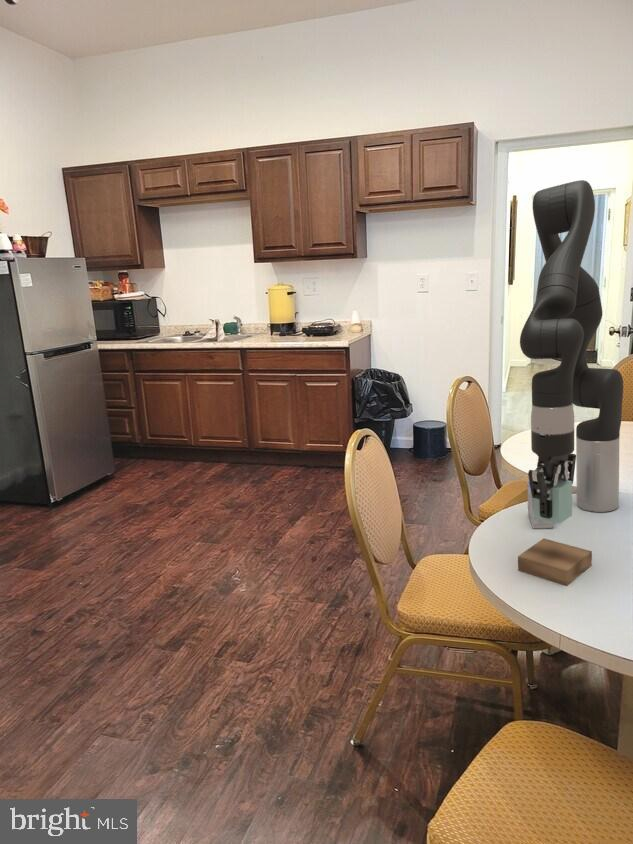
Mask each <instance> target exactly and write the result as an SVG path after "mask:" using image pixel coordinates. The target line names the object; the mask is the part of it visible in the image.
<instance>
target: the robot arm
mask: <svg viewBox="0 0 633 844" xmlns="http://www.w3.org/2000/svg"><path fill="white" fill-rule="evenodd" d="M595 211H596V201H595V195H594V190H593V187H592V186H591V184H590V182H589V181H587V180H584V179H582V180H576V181H570V182H566V183H562V184H558V185H554V186H550V187H547V188H543V189H541V190H538V191H537V192H535V193H534V195H533V199H532V215H533V220H534V225H535V228H536V232H537V235H538V236H537V237H538V239H539V242H540V247H541V249H542V253H543V256H544V260H545V263H544V265H543V267H542V268H541V271H540V274H539V276H538V281H537V289H536V295H535V296H536V297H535V302H534V304H533V307H532V310H531V311H530V313H529V315H528V317H527V319H526V321H525V323H524V325H523V327H522V329H521V333H520V337H519V347H520V350H521V352H522V354H523V355H524V356H525V357H526V358H529V359H532V360H543V359H546V360H548V359H549V360H553V359H560V360H561V362H560V364H559V365H558V366H557V367H554V368H551V369H548V370H543V371H539V372H536V373H535V374H534V375H533V376H532V378H531V413H530V435H531V437H530V439H531V447H530V448H531V451H532V453H533V454H535V455H537V457H538V458H537V463H536V468H535V469H529V470H528V472H527V473H528V474H527V475H528V482H530V488H531V494H532V498H536V499H539V501H540V516H541V517H543V518H547V519H550V518H551V517H552V500H551V499H552V495H553V488H556V487H557V481H558V480H563V481H567V480H569V481H572V485H573V484H574V479H575V473H576V482H575V483H576V506H577V507H579V508H580V509H582V510H584V511H589V512H597V513H600V512H601V513H603V512H604V513H605V512H611V511H614V510H617V509H618V508H619V503H620V436H621V435H620V431H621V426H622V425H621V424H622V418H623V417H622V413H623V412H622V411H623V400H624V378H623V376H622V374H621V372H620V371H619V370H618V369H615V368H602V367H601V368H598V367H589V366H588V363H587V362H588V361H587V349H588V348H589V345H590V343H591V341H592V339H593V337H594V336H595V333H596V332H597V331H598V328H599V326H600V324H601V322H602V319H603V306H602V301H601V294H600V288H599V286H598V283H597V282H596V281H595V279H594V278H593V276H591V275H590V274H589V273H588V271H587V270H586V269H584V268H583V267H582V263H583V262H582V261H583V259H584V254H585V251H586V248H587V246H588V242H589V238H590V234H591V232H592V231H591V230H592V228H593V223H594V220H595ZM563 233H566V236H565V237H564V239H563V240H561V238H560V234H563ZM574 406H576V407H580V408H587V409H588V408H589V409H596V410H597V409H599V411H598V417H596V418H591V419H589V420H588V419H587V420H583V421H581V422H579V423H578V424H577V425H576V426H575V411H574ZM575 427H576V429H575ZM575 434H576V435H575ZM575 445H576V446H575ZM575 450H576V452H575ZM574 452H575V453H574ZM575 469H576V472H575ZM545 480H546V481H551V483H545ZM546 487H547V488H548V492H547V491H546ZM537 489H538V491H537Z"/></svg>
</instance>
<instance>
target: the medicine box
mask: <svg viewBox="0 0 633 844" xmlns="http://www.w3.org/2000/svg"><path fill="white" fill-rule="evenodd" d="M526 486H527V487H526V489H527V490H526V491H527V493H526V494H527V515H528V517H529V521H530V524H531V526H532V528H533V529H534V530H535V529H540V530H541V529H542V528H543V529H552V528H553V526H554V523H553V522H549V521H545V520H541V519H536V518H535V515H534V498H532V494H531V488H530V482H529V481H527V482H526Z"/></svg>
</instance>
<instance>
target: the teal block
mask: <svg viewBox="0 0 633 844" xmlns="http://www.w3.org/2000/svg"><path fill="white" fill-rule="evenodd" d="M545 483H551V481H546V480H545ZM537 491H538V489H537ZM546 491H547V492H548V488H547V487H546ZM551 500H552V517H551V518H550V519H547V518H543V517H541V516H540V501H539V499H536V498H534V515H535V518H536V519H541V520H545V521H549V522H553V524H556V525H557V524H558V525H560V524H562V523H563V522H564V521H565V522H566V520H568V519H569V518H570V517H572V516H573V484H572V481H569V480H567V481H563V480H558V481H557V487H556V488H553V495H552V499H551Z"/></svg>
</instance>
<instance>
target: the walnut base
mask: <svg viewBox="0 0 633 844" xmlns="http://www.w3.org/2000/svg"><path fill="white" fill-rule="evenodd" d="M592 558H593V552H592V550H589V549H584V548H582V547H578V546H574V545H570V544H565V543H563V542H558V541H554V540H552V539H548V538H542V539H540V540H539V541H538V542H536V543H535V544H534V545H532V546H530V547H528V548H527V549H526V550H525V551H523V552H522V553H520V554H518V556H517V571H520V572H523V573H527V574H529V575H533V576H535V577H539V578H541V577H542V579H544V578H545V580H548V581H551V580H552V581H551V582H554V581H555V582H554V583H557V582H558V584H560V583H561V584H560V585H563V584H564V586H566V587H567V586H568V585H570V584H571V583H573V582H574V581H575V580H576V579H577V578H578V577H579V576H581V575H582V574H583V573H584V572H585V571H587V570H588V569H589V568H590V567H591V566H593V565H592V564H593V559H592ZM581 573H582V574H581ZM580 574H581V575H580ZM576 577H577V578H576ZM575 578H576V579H575ZM574 579H575V580H574Z"/></svg>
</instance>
